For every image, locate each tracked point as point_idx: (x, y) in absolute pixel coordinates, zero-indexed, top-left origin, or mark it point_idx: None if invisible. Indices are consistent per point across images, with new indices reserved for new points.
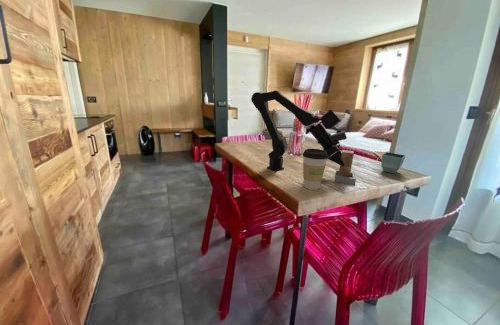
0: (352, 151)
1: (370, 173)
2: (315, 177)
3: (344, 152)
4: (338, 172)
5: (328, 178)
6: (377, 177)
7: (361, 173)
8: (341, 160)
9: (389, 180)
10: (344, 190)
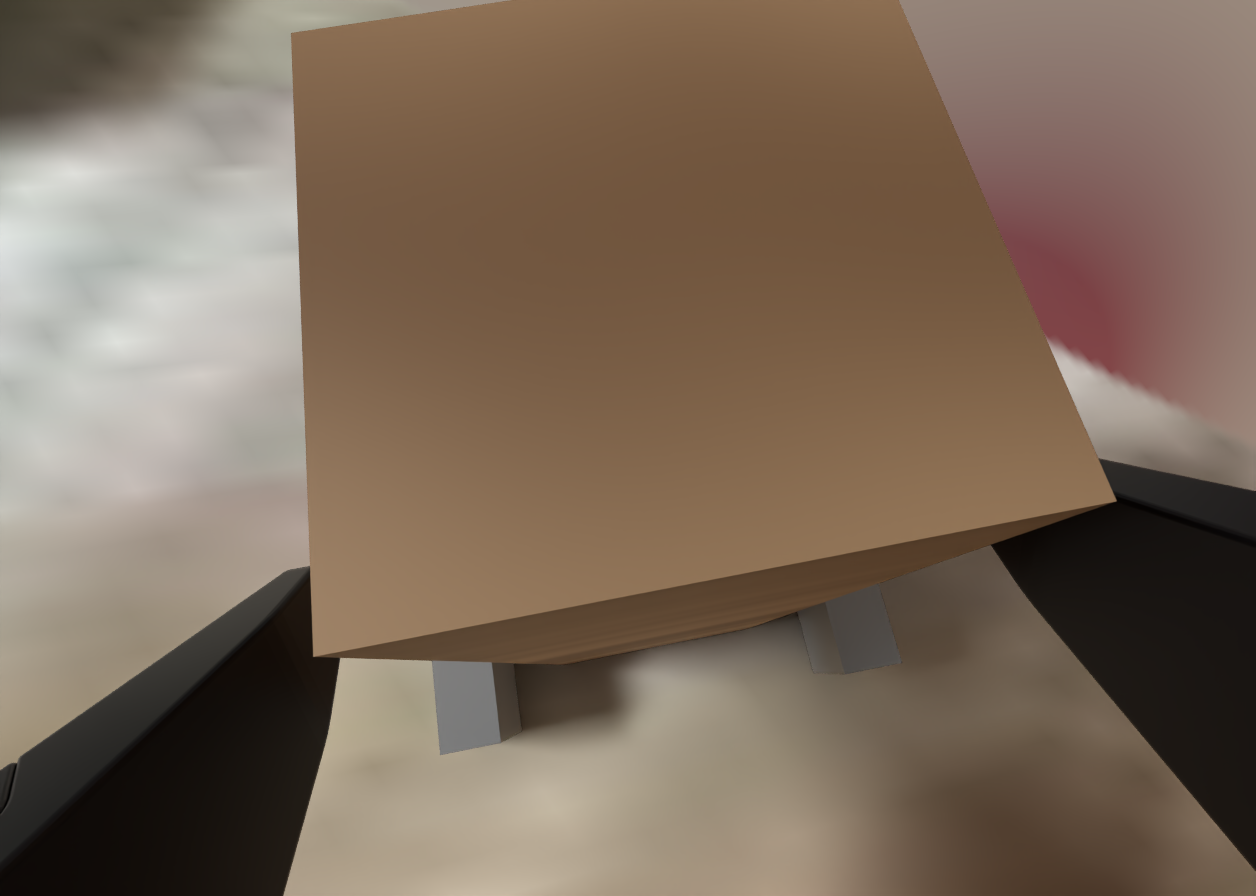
0: (432, 52)
1: (58, 241)
2: None
3: (1050, 373)
4: (498, 681)
5: (782, 812)
6: (226, 150)
7: (125, 352)
8: (1219, 503)
9: (284, 34)
10: (1135, 442)
